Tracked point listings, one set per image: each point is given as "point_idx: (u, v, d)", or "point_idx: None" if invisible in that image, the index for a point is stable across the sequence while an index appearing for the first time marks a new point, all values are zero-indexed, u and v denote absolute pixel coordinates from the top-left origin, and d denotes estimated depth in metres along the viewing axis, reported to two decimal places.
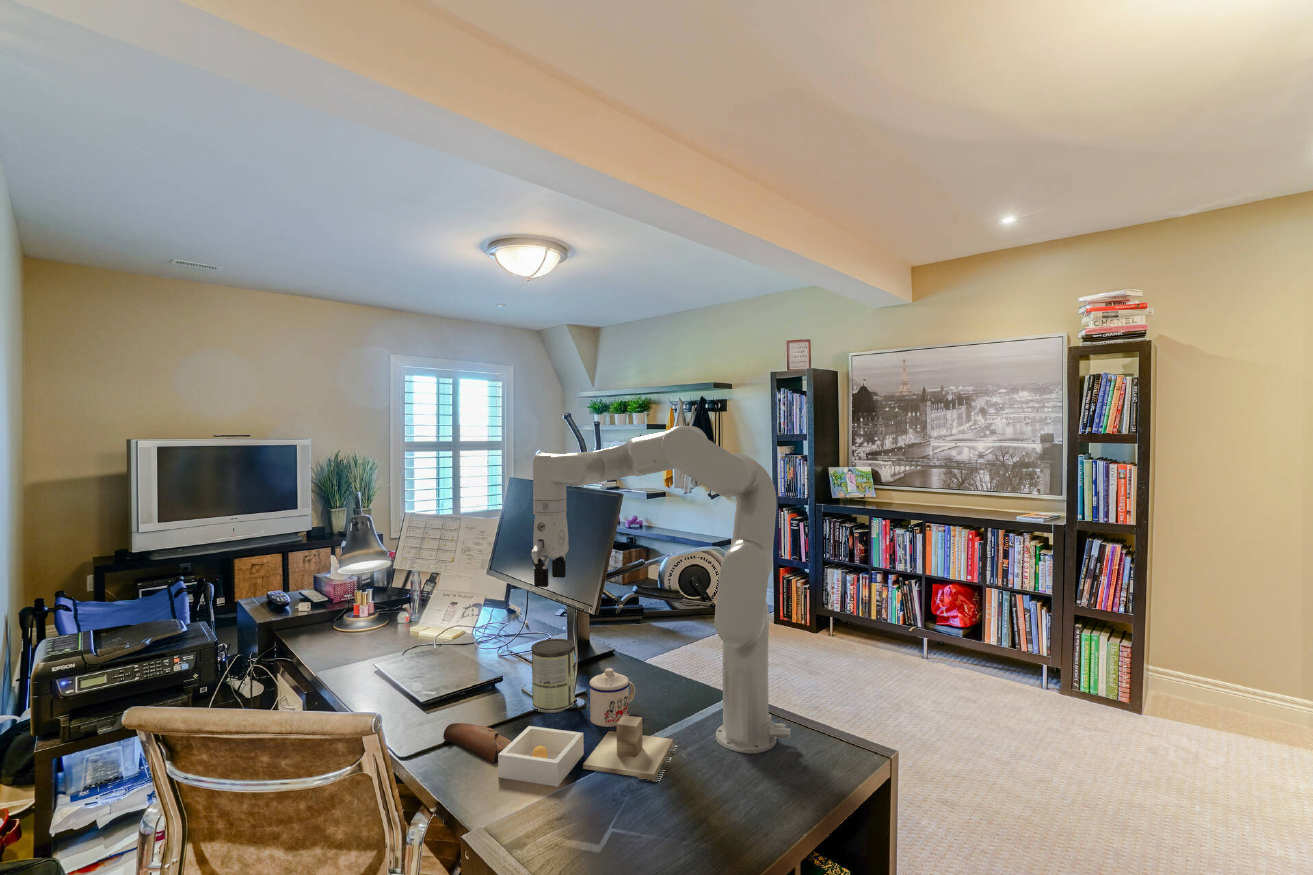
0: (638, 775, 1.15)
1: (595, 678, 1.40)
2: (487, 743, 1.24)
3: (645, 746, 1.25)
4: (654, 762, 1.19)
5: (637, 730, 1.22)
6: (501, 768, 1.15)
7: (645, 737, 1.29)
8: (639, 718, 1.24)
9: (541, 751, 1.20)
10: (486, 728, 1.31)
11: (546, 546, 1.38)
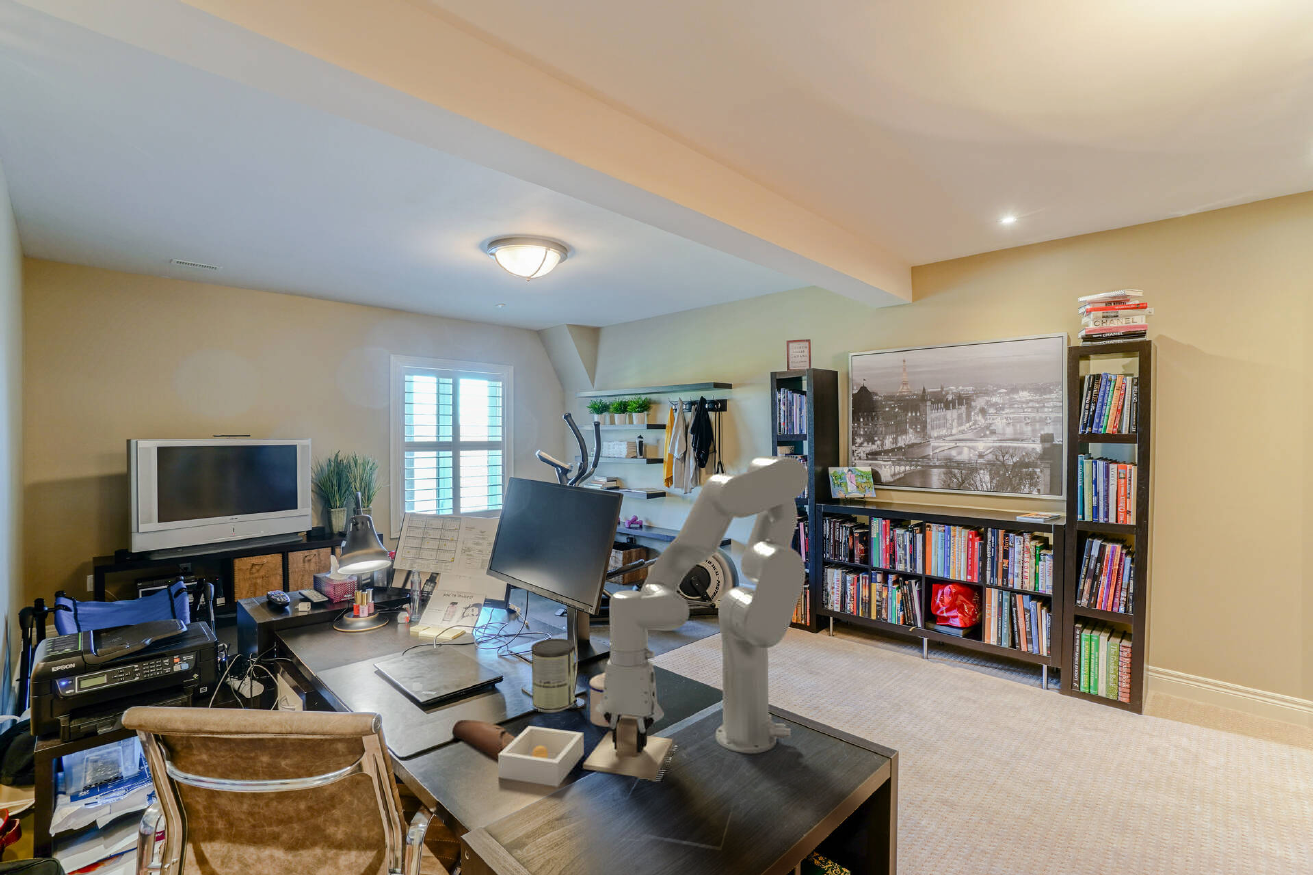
0: (638, 775, 1.15)
1: (595, 678, 1.40)
2: (493, 741, 1.25)
3: None
4: (654, 762, 1.19)
5: (637, 730, 1.22)
6: (501, 768, 1.15)
7: None
8: None
9: (541, 751, 1.20)
10: (493, 725, 1.32)
11: (655, 696, 1.23)
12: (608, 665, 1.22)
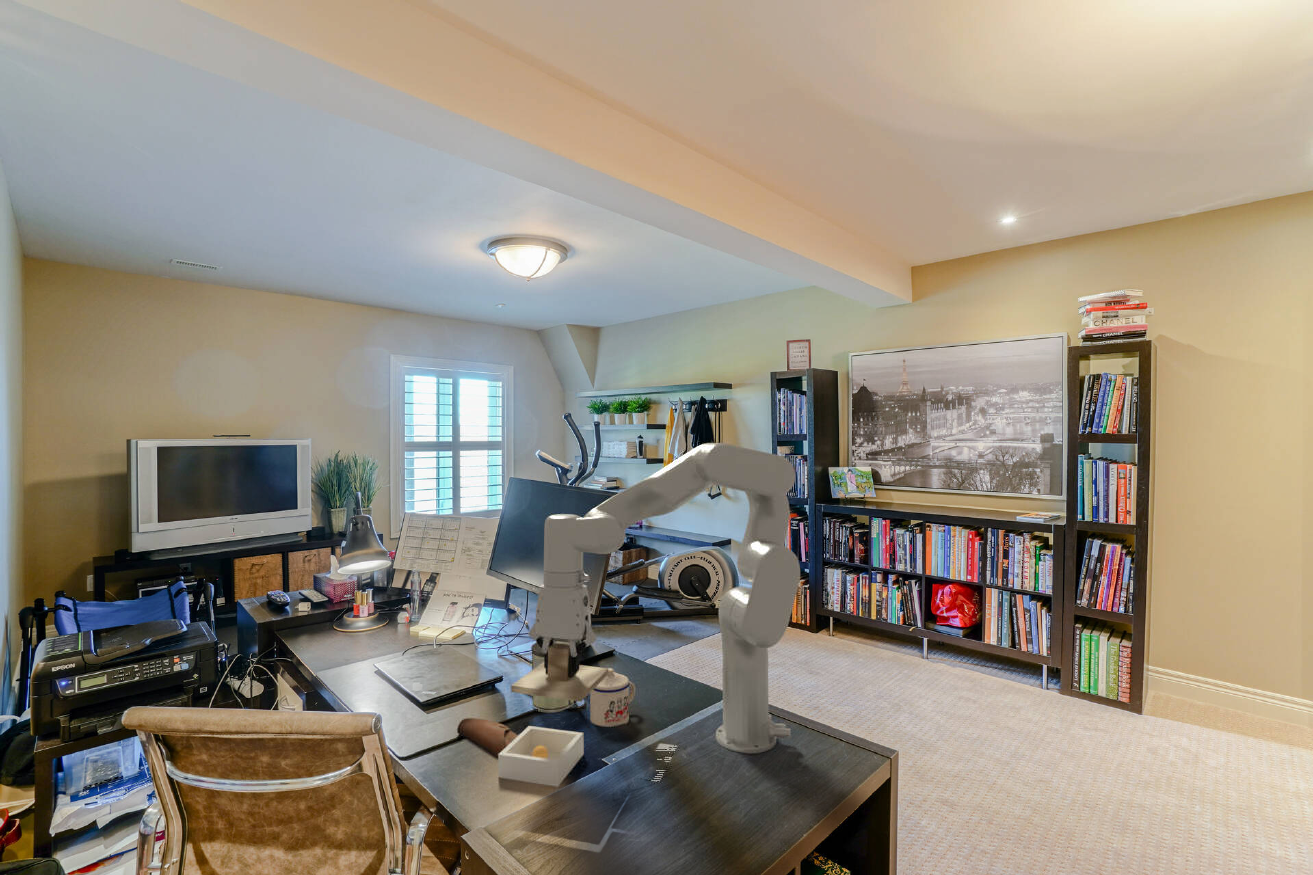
0: (565, 696, 1.13)
1: None
2: (496, 739, 1.25)
3: (578, 673, 1.22)
4: (584, 685, 1.16)
5: (569, 654, 1.19)
6: (501, 768, 1.15)
7: (580, 666, 1.26)
8: None
9: (541, 751, 1.20)
10: (498, 724, 1.33)
11: (589, 621, 1.21)
12: (541, 588, 1.20)
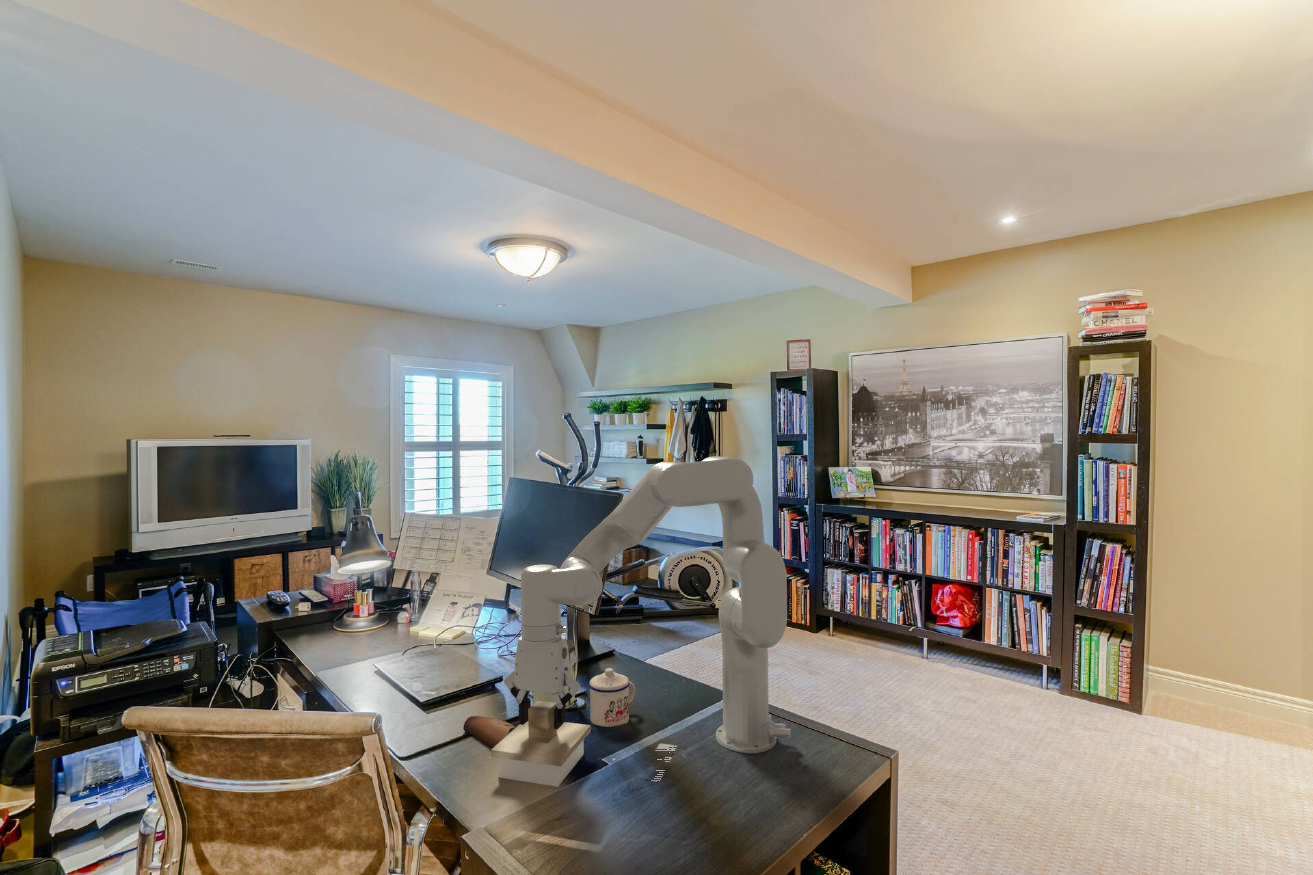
0: (545, 761, 1.12)
1: (595, 678, 1.40)
2: (501, 737, 1.26)
3: (560, 732, 1.22)
4: (564, 748, 1.15)
5: (550, 715, 1.18)
6: (501, 768, 1.15)
7: None
8: (553, 703, 1.21)
9: None
10: (503, 722, 1.34)
11: (568, 673, 1.20)
12: (519, 641, 1.19)
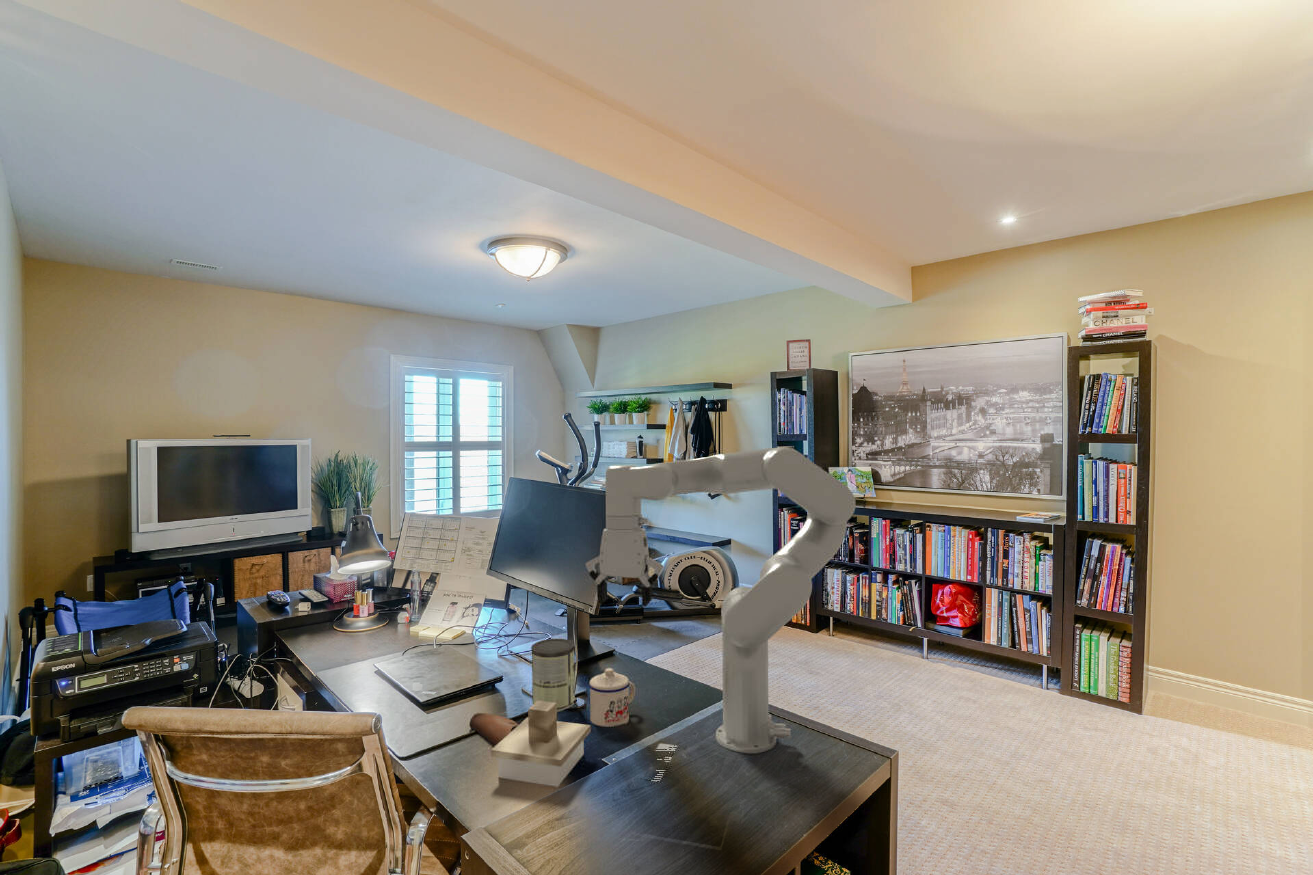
0: (545, 761, 1.12)
1: (595, 678, 1.40)
2: (503, 735, 1.27)
3: (560, 732, 1.22)
4: (564, 748, 1.15)
5: (550, 715, 1.18)
6: (501, 768, 1.15)
7: (563, 723, 1.25)
8: (553, 703, 1.21)
9: None
10: (508, 720, 1.35)
11: None
12: (604, 531, 1.32)
